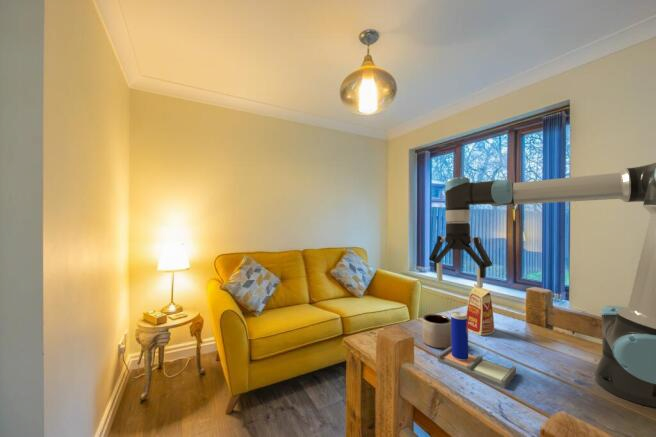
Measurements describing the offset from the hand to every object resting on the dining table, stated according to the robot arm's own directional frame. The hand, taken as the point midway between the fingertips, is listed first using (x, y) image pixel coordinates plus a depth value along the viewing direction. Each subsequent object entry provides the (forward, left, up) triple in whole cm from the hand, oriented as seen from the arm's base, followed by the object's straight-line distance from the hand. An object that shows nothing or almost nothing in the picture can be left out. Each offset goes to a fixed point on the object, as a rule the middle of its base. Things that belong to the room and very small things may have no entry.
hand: (458, 284), depth 92 cm
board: (-5, 0, -27) cm, 27 cm away
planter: (+12, -7, -27) cm, 30 cm away
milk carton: (+5, -32, -27) cm, 42 cm away
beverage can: (0, 0, -26) cm, 26 cm away
